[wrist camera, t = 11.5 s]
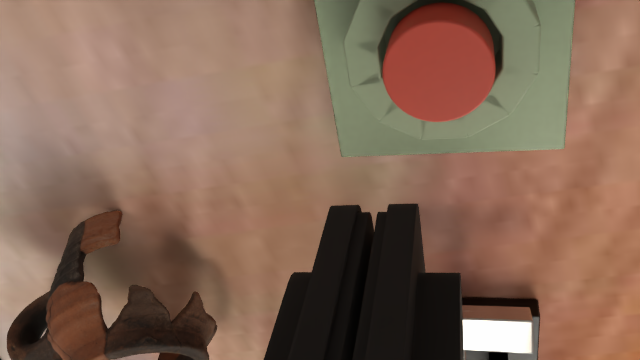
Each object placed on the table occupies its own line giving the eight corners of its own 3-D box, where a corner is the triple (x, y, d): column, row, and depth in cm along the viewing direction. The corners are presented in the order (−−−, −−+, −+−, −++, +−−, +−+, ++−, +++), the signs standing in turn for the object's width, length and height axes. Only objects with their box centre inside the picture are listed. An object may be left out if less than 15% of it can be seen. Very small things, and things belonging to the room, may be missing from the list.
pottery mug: (155, 178, 31) (164, 323, 26) (235, 247, 39) (254, 369, 34) (-31, 255, 33) (-52, 403, 28) (81, 306, 41) (79, 429, 36)
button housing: (308, -100, 21) (284, -80, 18) (576, -143, 19) (595, -126, 16) (347, 137, 27) (333, 181, 24) (559, 128, 24) (571, 175, 21)
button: (382, 7, 20) (376, 25, 18) (493, -5, 19) (495, 14, 17) (392, 102, 22) (387, 125, 20) (493, 96, 21) (496, 120, 19)
